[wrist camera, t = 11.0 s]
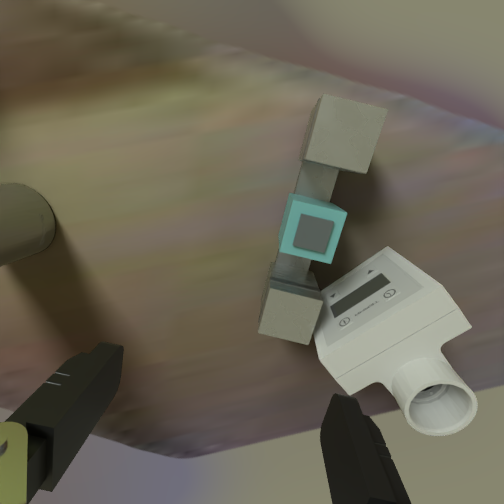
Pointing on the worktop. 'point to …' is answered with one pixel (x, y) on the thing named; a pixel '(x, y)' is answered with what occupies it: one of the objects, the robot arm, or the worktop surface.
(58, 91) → the worktop surface
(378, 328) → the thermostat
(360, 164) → the rail
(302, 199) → the block
